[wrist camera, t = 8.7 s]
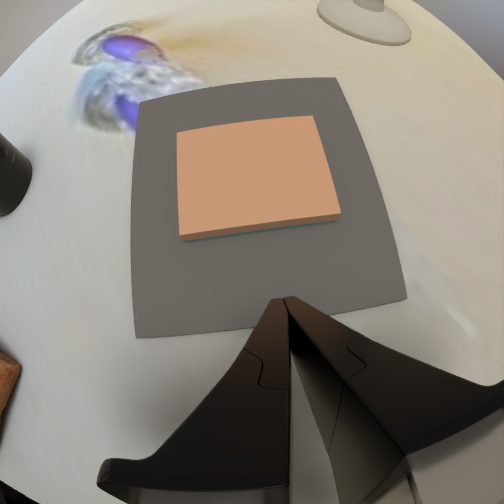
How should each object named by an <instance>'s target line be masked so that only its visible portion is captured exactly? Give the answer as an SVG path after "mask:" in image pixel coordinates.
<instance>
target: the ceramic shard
mask: <svg viewBox="0 0 504 504" xmlns="http://www.w3.org/2000/svg"><path fill="white" fill-rule="evenodd" d="M20 369H21V367H20V364H19V363H18V362H17V361H16V360H14V359H13V358H11V357H9V356H8V355H6V354H3V353H2V352H0V418H1V414H2V410H3V409H4V407H5V406H6V403H7V400H8V398H9V396H10V393H11V391H12V388H13V386H14V384H15V382H16V380H17V377H18V375H19V373H20ZM0 424H1V420H0Z"/></svg>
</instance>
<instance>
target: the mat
mask: <svg viewBox="0 0 504 504" xmlns="http://www.w3.org/2000/svg"><path fill="white" fill-rule="evenodd" d="M312 115H313V118H314V121H315V124H316V127H317V130H318V133H319V136H320V140H321V143H322V146H323V149H324V153H325V156H326V159H327V163H328V166H329V169H330V173H331V177H332V180H333V184H334V187H335V191H336V195H337V199H338V202H339V206H340V210H341V214H340V216H339V218H338V219H337V221H336V222H331V223H323V224H315V225H308V226H300V227H292V228H285V229H277V230H270V231H262V232H255V233H248V234H241V235H234V236H226V237H219V238H213V239H206V240H199V241H192V242H185V241H184V240H183V239H182V238H181V236H180V235H179V216H178V189H177V133H178V132H183V131H188V130H193V129H199V128H205V127H211V126H217V125H223V124H230V123H237V122H245V121H253V120H262V119H272V118H283V117H296V116H312ZM131 279H132V298H133V312H134V325H135V335H136V338H150V337H164V336H177V335H188V334H199V333H209V332H218V331H227V330H235V329H243V328H251V327H255V326H256V325H257V323H258V321H259V319H260V318H261V316H262V314H263V312H264V311H265V309H266V307H267V305H268V304H269V302H270V300H271V299H274V298H282V299H283V298H284V297H288V296H296V297H297V298H299V299H301V300H302V301H304V302H306V303H308V304H309V305H311V306H313V307H314V308H316V309H318V310H319V311H321V312H323V313H325V314H326V315H333V314H338V313H344V312H349V311H354V310H359V309H364V308H369V307H373V306H378V305H383V304H387V303H392V302H396V301H400V300H405V299H407V293H406V288H405V283H404V278H403V273H402V269H401V264H400V260H399V256H398V251H397V247H396V243H395V239H394V235H393V232H392V228H391V224H390V220H389V217H388V213H387V210H386V207H385V203H384V200H383V197H382V193H381V190H380V187H379V184H378V181H377V178H376V175H375V172H374V169H373V166H372V163H371V161H370V158H369V155H368V152H367V150H366V147H365V144H364V142H363V139H362V137H361V134H360V132H359V129H358V127H357V124H356V122H355V119H354V117H353V115H352V112H351V110H350V108H349V105H348V103H347V101H346V99H345V96H344V94H343V92H342V90H341V88H340V86H339V83H338V81H337V79H336V78H293V79H276V80H264V81H254V82H245V83H237V84H229V85H222V86H215V87H209V88H203V89H198V90H192V91H187V92H182V93H177V94H173V95H168V96H164V97H159V98H155V99H151V100H147V101H143V102H140V104H139V111H138V119H137V128H136V137H135V148H134V160H133V174H132V193H131Z"/></svg>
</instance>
